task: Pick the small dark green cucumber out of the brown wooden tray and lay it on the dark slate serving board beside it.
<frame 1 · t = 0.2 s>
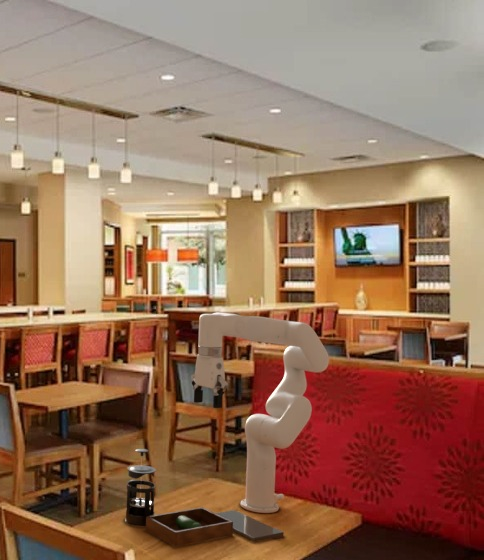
hand: (207, 405, 235), 36 cm above the table, tool pointing down, fingers open, 9 cm apart
board: (243, 528, 227), on the table
cucumber: (188, 532, 220), resting on brown wooden tray
brown wooden tray: (188, 533, 220), on the table
french press: (139, 522, 229), on the table
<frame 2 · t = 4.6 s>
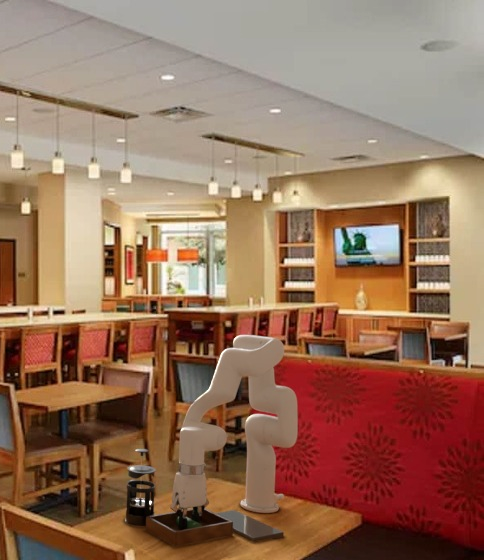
hand: (189, 528, 220), 2 cm above the table, tool pointing down, fingers closed on cucumber, 4 cm apart
cucumber: (188, 532, 220), resting on brown wooden tray, touching gripper
everything else where it was.
when the fingers open (3 cm above the table, at t = 11.1 s): cucumber stays where it is, resting on board.
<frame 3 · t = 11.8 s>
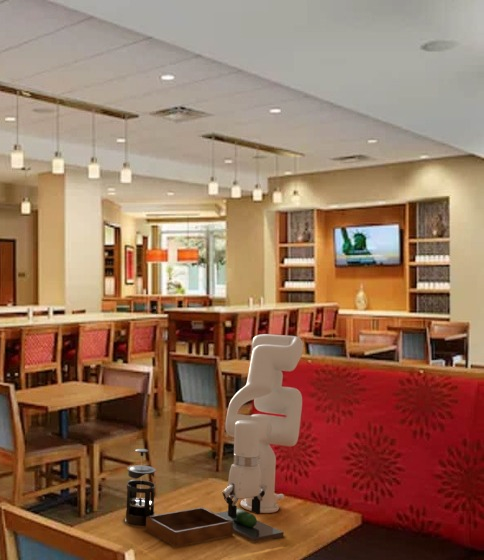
hand: (244, 515, 227), 4 cm above the table, tool pointing down, fingers open, 9 cm apart
cucumber: (243, 523, 226), point 2 cm above the table, tilted 9°, touching board
everything else where it was.
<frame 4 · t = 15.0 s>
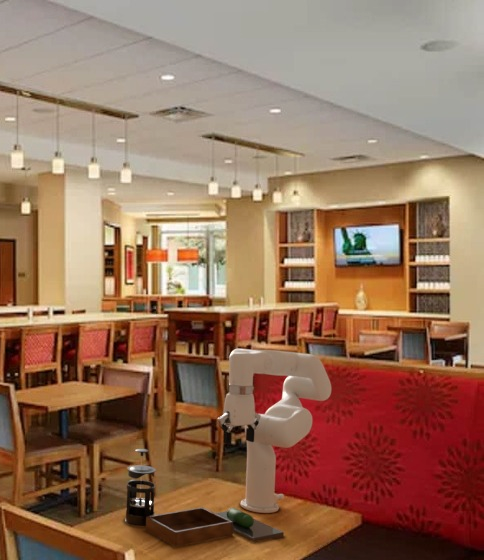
hand: (238, 442, 237), 24 cm above the table, tool pointing down, fingers open, 9 cm apart
cucumber: (243, 521, 226), point 2 cm above the table, tilted 45°, touching board
everything else where it was.
at the end: cucumber inside the target area on the board (0.4 cm from its centre), point 2.1 cm above the board's base; the gripper is holding nothing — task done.
